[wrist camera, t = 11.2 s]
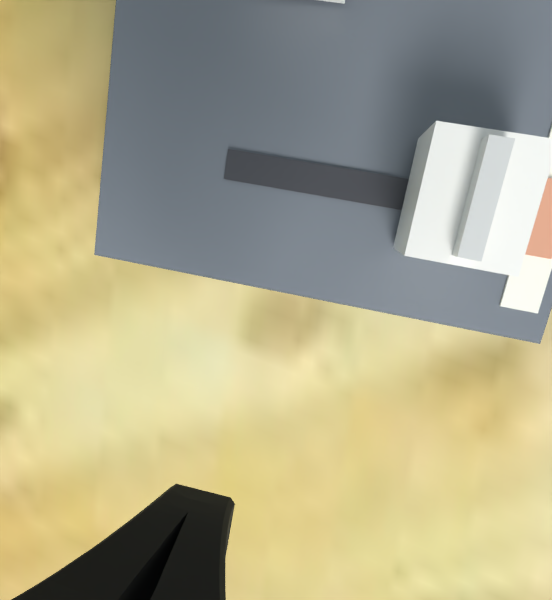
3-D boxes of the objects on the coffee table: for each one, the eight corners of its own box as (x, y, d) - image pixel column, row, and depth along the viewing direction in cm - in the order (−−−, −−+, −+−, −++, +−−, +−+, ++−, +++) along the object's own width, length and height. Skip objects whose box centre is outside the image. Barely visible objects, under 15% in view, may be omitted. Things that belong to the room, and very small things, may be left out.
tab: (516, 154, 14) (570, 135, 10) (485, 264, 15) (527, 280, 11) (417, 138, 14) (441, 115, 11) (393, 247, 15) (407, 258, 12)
